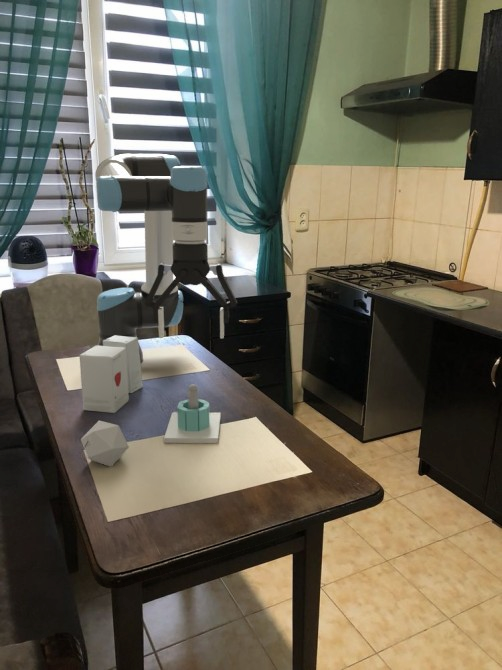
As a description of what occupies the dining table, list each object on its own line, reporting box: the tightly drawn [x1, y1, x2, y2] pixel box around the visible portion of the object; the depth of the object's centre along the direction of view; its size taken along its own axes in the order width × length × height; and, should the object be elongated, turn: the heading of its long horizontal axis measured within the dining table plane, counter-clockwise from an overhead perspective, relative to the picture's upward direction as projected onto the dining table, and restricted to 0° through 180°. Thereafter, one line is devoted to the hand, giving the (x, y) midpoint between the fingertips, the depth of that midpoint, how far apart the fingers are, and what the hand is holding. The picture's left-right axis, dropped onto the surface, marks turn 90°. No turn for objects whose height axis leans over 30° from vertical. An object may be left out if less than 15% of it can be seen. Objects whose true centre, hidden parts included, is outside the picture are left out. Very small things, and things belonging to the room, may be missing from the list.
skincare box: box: [103, 335, 143, 394], centre depth 150 cm, size 8×6×15 cm
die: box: [80, 420, 130, 467], centre depth 112 cm, size 8×9×10 cm
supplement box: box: [78, 345, 130, 414], centre depth 139 cm, size 9×9×15 cm
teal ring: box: [176, 398, 210, 431], centre depth 127 cm, size 7×7×5 cm
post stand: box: [163, 383, 221, 444], centre depth 126 cm, size 14×12×11 cm
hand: (191, 336), depth 122 cm, fingers open, 13 cm apart
